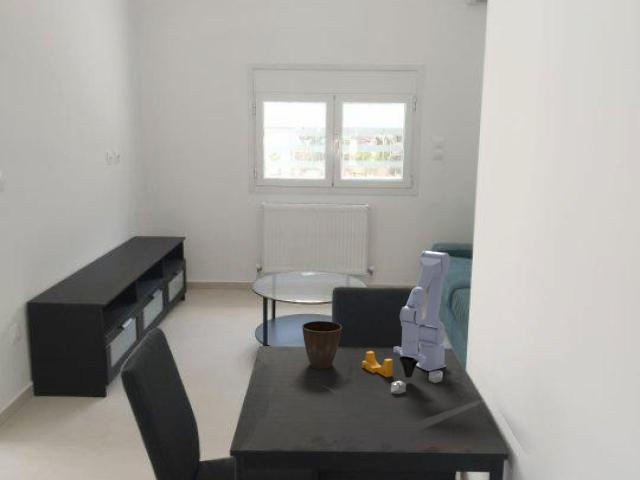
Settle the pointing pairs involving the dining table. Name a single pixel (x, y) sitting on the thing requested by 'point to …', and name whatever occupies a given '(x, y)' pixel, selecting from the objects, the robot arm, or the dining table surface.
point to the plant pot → (321, 342)
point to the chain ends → (401, 386)
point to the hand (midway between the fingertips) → (408, 376)
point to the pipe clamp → (377, 365)
